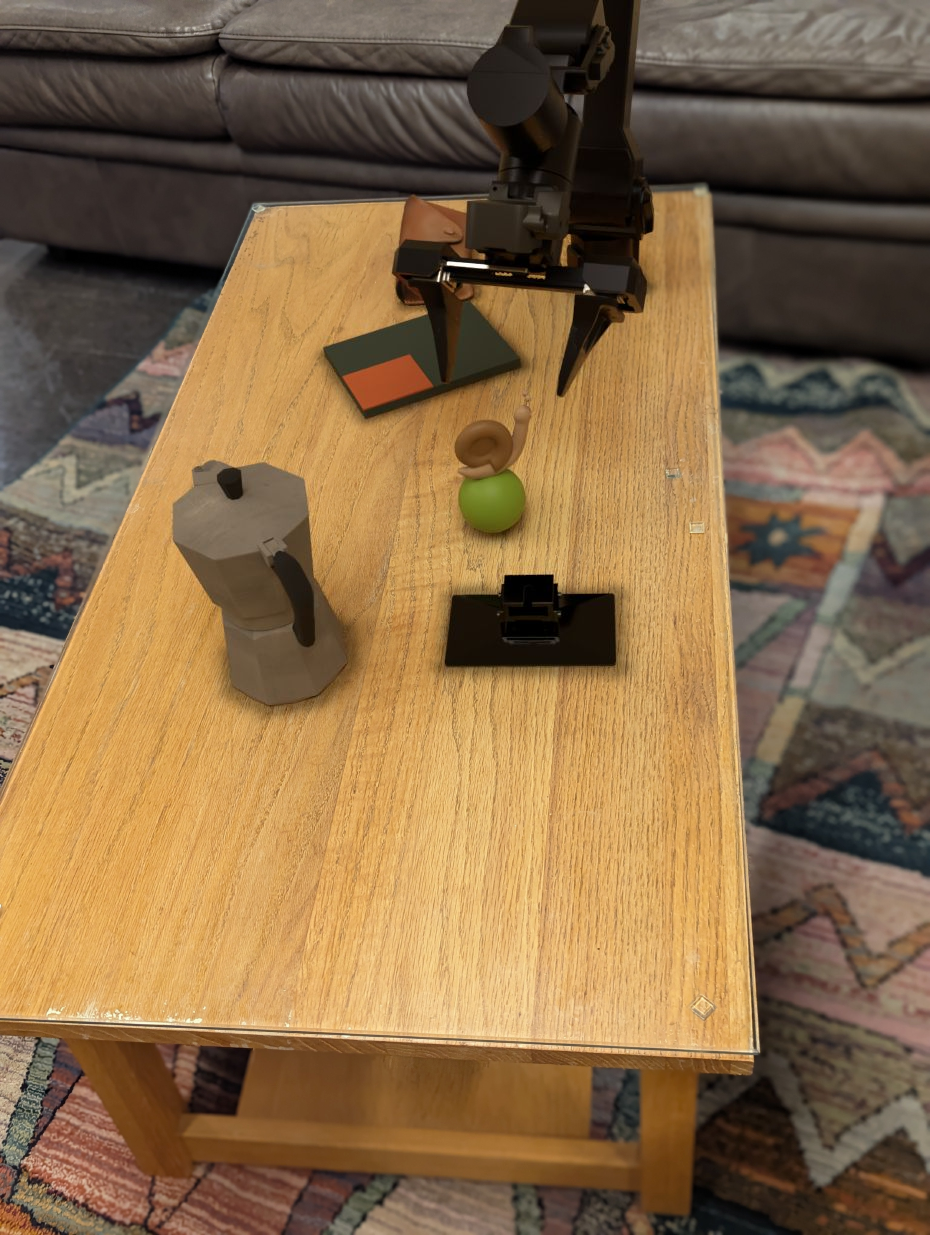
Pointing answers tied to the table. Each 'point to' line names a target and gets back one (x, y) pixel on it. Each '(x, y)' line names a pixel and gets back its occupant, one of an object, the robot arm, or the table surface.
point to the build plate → (531, 627)
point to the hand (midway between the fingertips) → (501, 389)
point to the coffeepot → (261, 578)
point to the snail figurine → (492, 471)
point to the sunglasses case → (433, 237)
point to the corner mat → (416, 361)
